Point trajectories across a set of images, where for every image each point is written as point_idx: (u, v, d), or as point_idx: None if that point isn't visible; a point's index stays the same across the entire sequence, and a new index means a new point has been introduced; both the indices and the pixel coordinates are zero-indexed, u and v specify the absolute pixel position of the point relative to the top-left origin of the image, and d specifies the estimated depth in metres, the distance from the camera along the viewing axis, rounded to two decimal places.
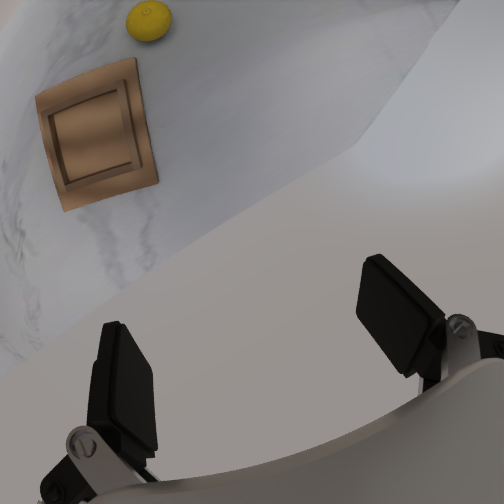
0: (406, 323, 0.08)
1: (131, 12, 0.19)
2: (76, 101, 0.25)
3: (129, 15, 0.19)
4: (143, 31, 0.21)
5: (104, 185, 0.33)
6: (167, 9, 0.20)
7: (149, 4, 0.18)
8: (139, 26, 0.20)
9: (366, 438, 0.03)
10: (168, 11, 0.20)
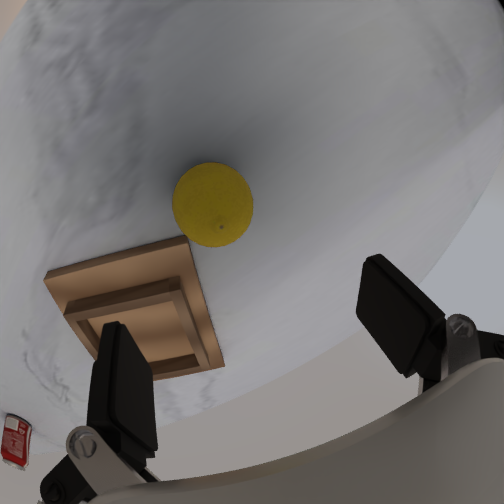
0: (406, 323, 0.08)
1: (187, 212, 0.16)
2: (115, 311, 0.22)
3: (183, 215, 0.16)
4: (213, 246, 0.18)
5: None
6: (250, 201, 0.17)
7: (222, 204, 0.16)
8: (207, 244, 0.17)
9: (366, 438, 0.03)
10: (252, 201, 0.18)
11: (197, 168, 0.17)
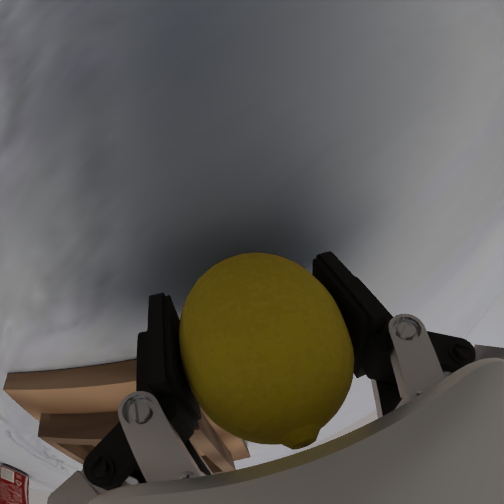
0: (349, 321, 0.08)
1: (224, 414, 0.06)
2: None
3: (214, 413, 0.06)
4: None
5: None
6: (353, 358, 0.07)
7: (312, 407, 0.06)
8: None
9: (366, 438, 0.03)
10: None
11: (235, 289, 0.07)
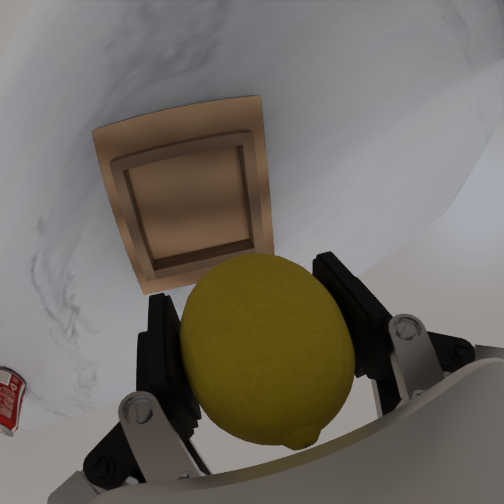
0: (349, 321, 0.08)
1: (225, 415, 0.06)
2: (175, 154, 0.20)
3: (215, 414, 0.06)
4: None
5: None
6: (354, 359, 0.07)
7: (313, 408, 0.06)
8: None
9: (366, 438, 0.03)
10: (353, 355, 0.08)
11: (236, 291, 0.07)
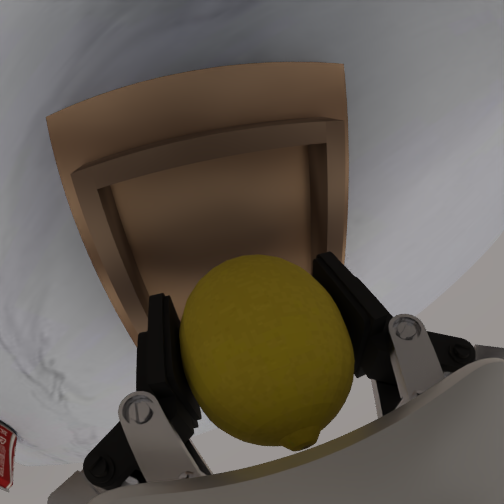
0: (349, 321, 0.08)
1: (225, 416, 0.06)
2: (202, 156, 0.10)
3: (214, 415, 0.06)
4: None
5: None
6: None
7: (312, 410, 0.06)
8: None
9: (366, 438, 0.03)
10: None
11: (236, 292, 0.07)
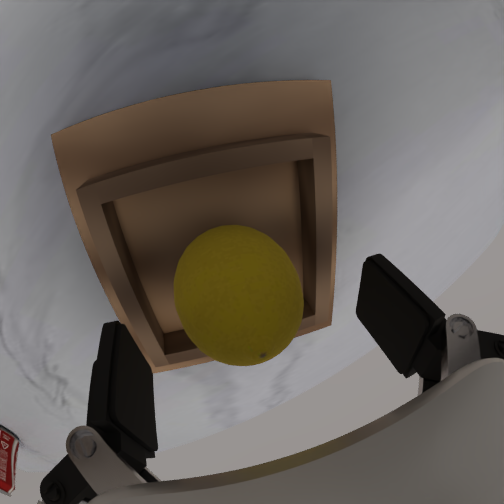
0: (406, 323, 0.08)
1: (202, 327, 0.09)
2: (197, 173, 0.11)
3: (195, 330, 0.10)
4: None
5: None
6: (302, 296, 0.11)
7: (264, 319, 0.09)
8: None
9: (366, 438, 0.03)
10: (302, 295, 0.11)
11: (212, 242, 0.11)
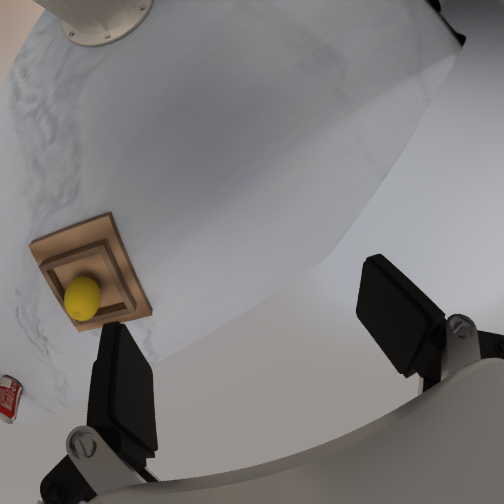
0: (406, 323, 0.08)
1: (66, 308, 0.30)
2: (68, 262, 0.32)
3: None
4: None
5: None
6: (91, 301, 0.32)
7: (75, 306, 0.30)
8: None
9: (366, 438, 0.03)
10: (93, 301, 0.32)
11: (70, 284, 0.32)
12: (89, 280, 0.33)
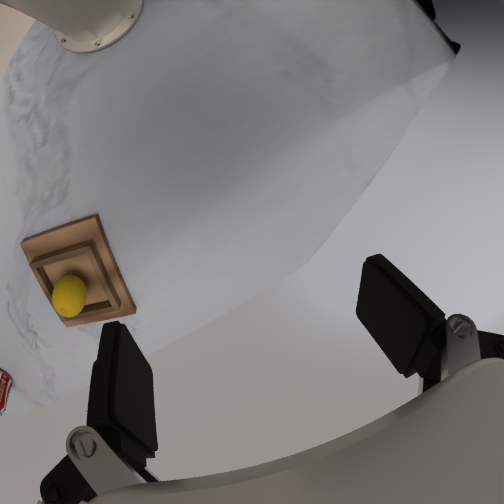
0: (406, 323, 0.08)
1: (53, 304, 0.31)
2: (56, 260, 0.33)
3: (53, 305, 0.31)
4: None
5: None
6: (77, 299, 0.32)
7: (62, 303, 0.31)
8: (64, 316, 0.32)
9: (366, 438, 0.03)
10: (79, 298, 0.33)
11: (58, 282, 0.32)
12: (76, 278, 0.34)
